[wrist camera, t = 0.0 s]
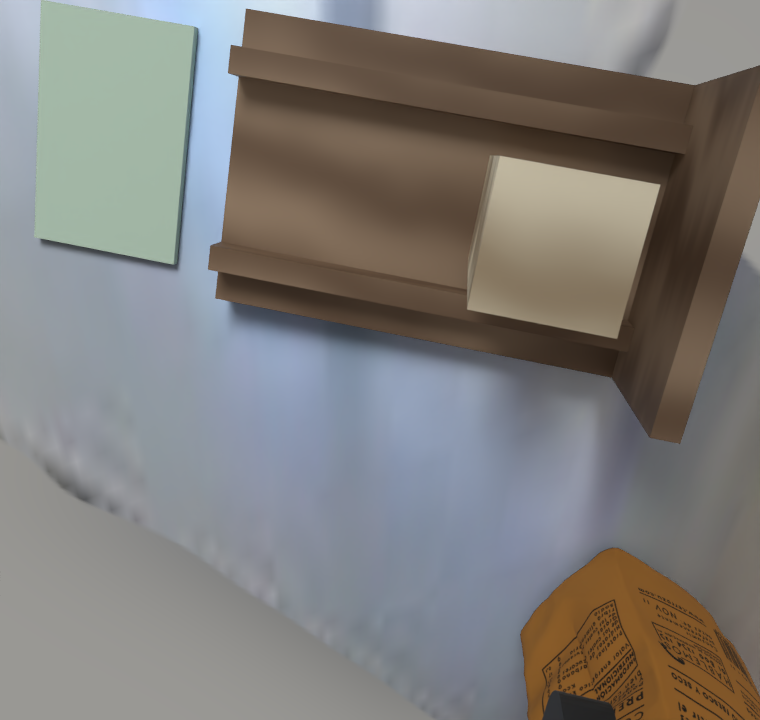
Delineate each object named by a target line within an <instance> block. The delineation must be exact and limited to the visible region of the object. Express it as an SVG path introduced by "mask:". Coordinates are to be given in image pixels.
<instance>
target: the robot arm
mask: <svg viewBox="0 0 760 720" xmlns="http://www.w3.org/2000/svg"><path fill="white" fill-rule="evenodd" d="M542 720H616V717H615V713H614V710H613V708H612V706H611V704H610V703H608V702H604V701H600V700H595V699H591V698H587V697H583V696H578V695H574V694H570V693H565V692H561V691H557V690H554V691H553V692H552V693H551V695H550V697H549V699H548V702H547V705H546V708H545V712H544V715H543V718H542Z"/></svg>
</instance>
